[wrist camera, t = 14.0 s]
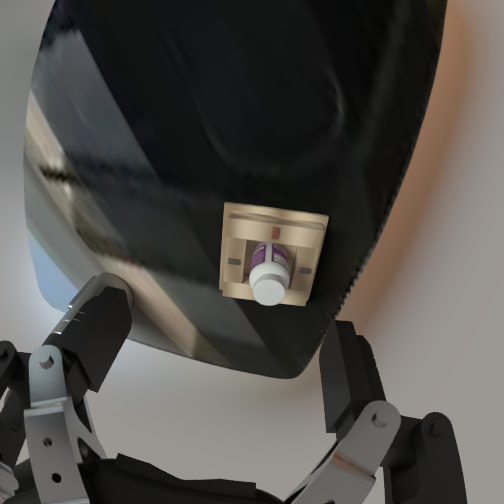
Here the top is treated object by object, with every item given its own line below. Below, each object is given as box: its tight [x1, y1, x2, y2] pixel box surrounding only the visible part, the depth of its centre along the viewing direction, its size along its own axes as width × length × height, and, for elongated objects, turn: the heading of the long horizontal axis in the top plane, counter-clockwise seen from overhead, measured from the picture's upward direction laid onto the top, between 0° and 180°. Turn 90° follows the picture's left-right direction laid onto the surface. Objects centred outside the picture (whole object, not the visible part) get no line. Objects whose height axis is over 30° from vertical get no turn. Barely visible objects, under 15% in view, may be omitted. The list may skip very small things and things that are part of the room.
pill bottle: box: [249, 242, 290, 306], centre depth 38 cm, size 5×5×10 cm
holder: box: [219, 202, 329, 306], centre depth 41 cm, size 15×15×4 cm
